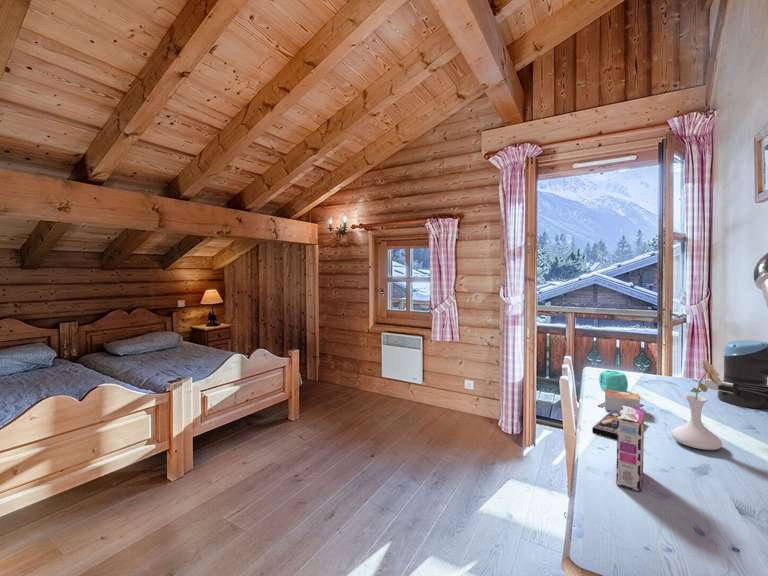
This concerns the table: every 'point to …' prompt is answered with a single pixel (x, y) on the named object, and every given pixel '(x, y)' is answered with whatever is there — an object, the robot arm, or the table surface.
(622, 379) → the decorative dice
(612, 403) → the small box
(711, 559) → the table surface
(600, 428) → the vhs tape
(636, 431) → the candy bar box
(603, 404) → the grey mat
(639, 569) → the table surface
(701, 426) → the flower in vase
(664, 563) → the table surface
